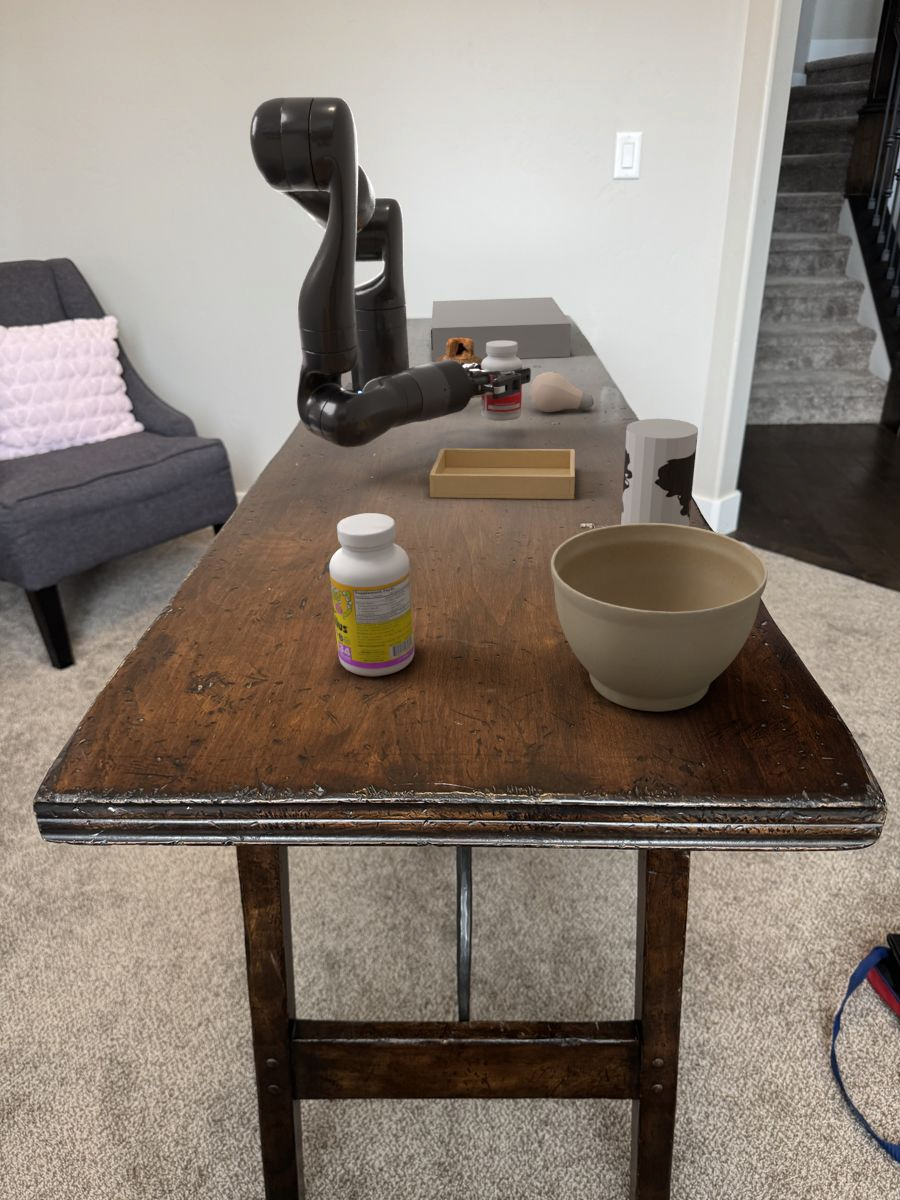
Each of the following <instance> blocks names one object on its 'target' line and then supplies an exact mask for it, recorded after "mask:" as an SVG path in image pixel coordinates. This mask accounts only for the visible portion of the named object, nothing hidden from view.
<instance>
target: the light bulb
mask: <svg viewBox="0 0 900 1200" xmlns="http://www.w3.org/2000/svg"><path fill="white" fill-rule="evenodd" d="M528 396H529V399H530V401H531V404H532V405H533V406H534V407H535V408H536V410H538V411H541V412H543V413H554V412H558V411H563V410H577V409H578V410H581V411H585V412H588V411H589V410H590V409H591V408H593V406H594V404H595V403H594V402H595V401H594V400H595V399H594V397H593V394H590V393H587V392H582V390H581V389H580V388H577V387H575V386H573V385H572V384H571V383H570V382H568V380H566V378H564V377H563V376H562V375H561V374H559V373H556V372H555V371H554V372H553V371H546V372H542V373H539V375H537V376H536V377H534V379H533V380H532V382H531V384H530V385H529V391H528Z"/></svg>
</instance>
